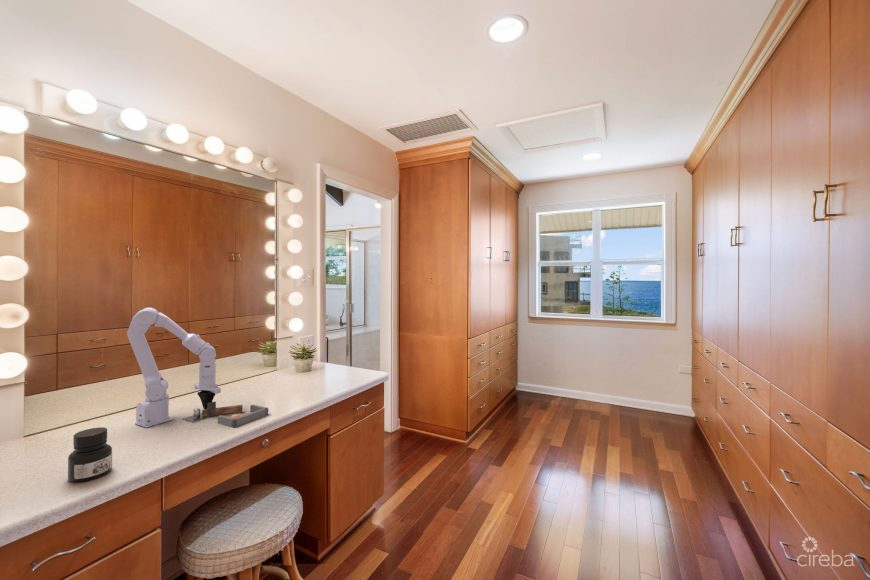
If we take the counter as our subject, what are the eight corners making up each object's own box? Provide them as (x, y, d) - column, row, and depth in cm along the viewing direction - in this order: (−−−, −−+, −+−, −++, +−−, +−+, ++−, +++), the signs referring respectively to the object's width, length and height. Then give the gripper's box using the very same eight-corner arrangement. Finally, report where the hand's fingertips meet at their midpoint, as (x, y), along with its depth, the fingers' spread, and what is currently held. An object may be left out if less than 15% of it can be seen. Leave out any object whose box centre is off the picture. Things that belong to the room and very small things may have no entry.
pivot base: (193, 422, 138) (193, 413, 138) (182, 419, 141) (182, 410, 141) (211, 416, 144) (211, 408, 144) (200, 413, 147) (200, 405, 147)
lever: (201, 417, 141) (201, 405, 141) (202, 414, 144) (202, 403, 144) (242, 412, 148) (242, 400, 148) (242, 409, 151) (242, 398, 151)
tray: (233, 427, 133) (233, 420, 133) (217, 423, 137) (217, 416, 137) (268, 414, 147) (268, 408, 147) (252, 411, 151) (253, 404, 151)
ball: (231, 413, 139) (232, 421, 139) (227, 417, 135) (228, 425, 136) (241, 412, 139) (242, 420, 140) (237, 416, 136) (238, 425, 136)
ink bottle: (76, 487, 94) (77, 441, 94) (58, 480, 97) (58, 436, 97) (120, 469, 103) (121, 428, 103) (102, 463, 106) (102, 423, 106)
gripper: (228, 375, 148) (227, 408, 148) (206, 371, 154) (205, 402, 154) (210, 379, 141) (210, 413, 141) (189, 374, 148) (188, 407, 148)
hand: (207, 408), depth 147 cm, fingers closed
